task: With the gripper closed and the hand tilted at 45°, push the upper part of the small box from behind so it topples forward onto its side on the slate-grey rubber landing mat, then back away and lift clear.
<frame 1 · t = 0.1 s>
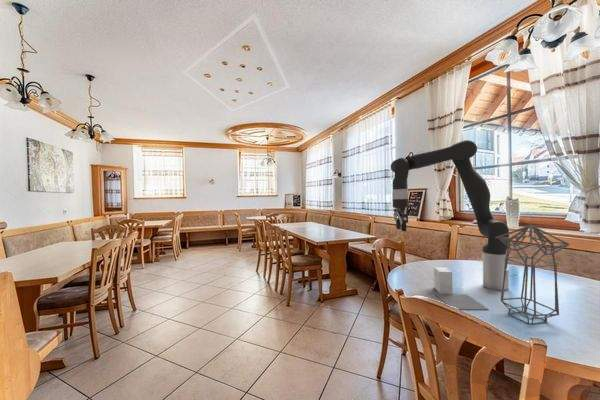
hand: (401, 230, 126), 29 cm above the table, tool pointing down, fingers open, 8 cm apart
small box: (443, 291, 121), on the table
geometric lantern: (530, 319, 92), on the table
landing mat: (459, 301, 108), on the table
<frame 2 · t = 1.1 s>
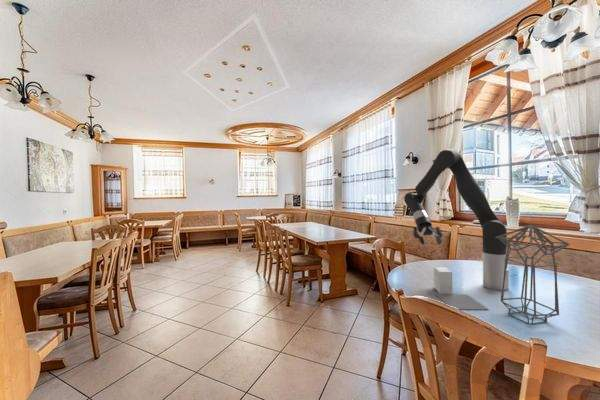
hand: (431, 243, 131), 21 cm above the table, tool tilted 45°, fingers open, 8 cm apart
nothing on the table moved.
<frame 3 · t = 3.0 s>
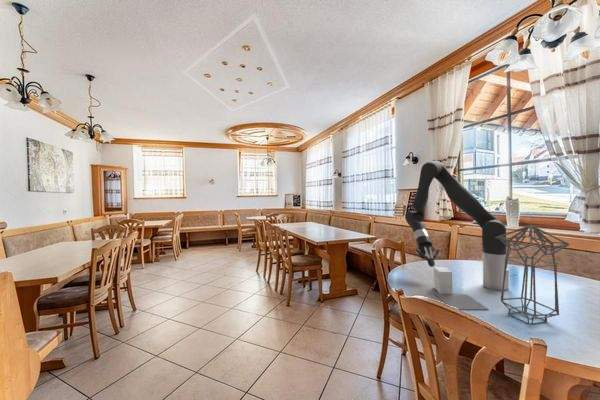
hand: (432, 266, 131), 9 cm above the table, tool tilted 45°, fingers closed
nothing on the table moved.
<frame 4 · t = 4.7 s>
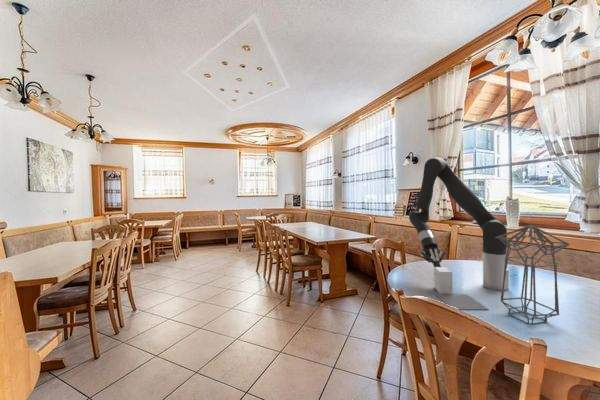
hand: (438, 269, 125), 9 cm above the table, tool tilted 45°, fingers closed
small box: (443, 291, 121), on the table, touching gripper
everything else where it was.
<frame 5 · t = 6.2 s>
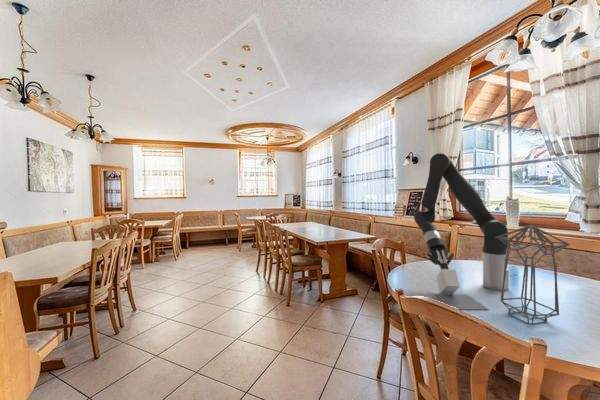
hand: (446, 271, 116), 11 cm above the table, tool tilted 45°, fingers closed
small box: (444, 285, 119), point 3 cm above the table, touching gripper
everything else where it was.
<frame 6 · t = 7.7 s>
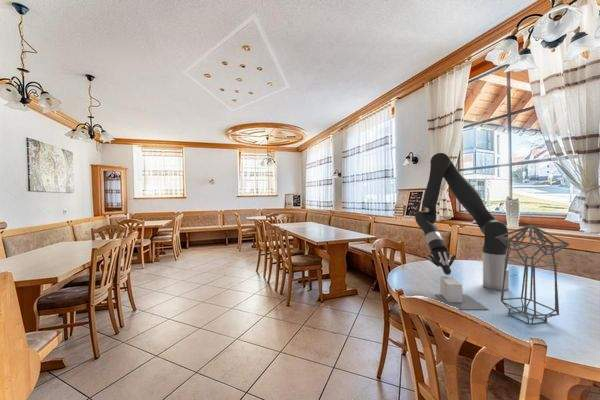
hand: (448, 274, 115), 10 cm above the table, tool tilted 45°, fingers closed
small box: (446, 284, 117), point 4 cm above the table, touching landing mat
everything else where it was.
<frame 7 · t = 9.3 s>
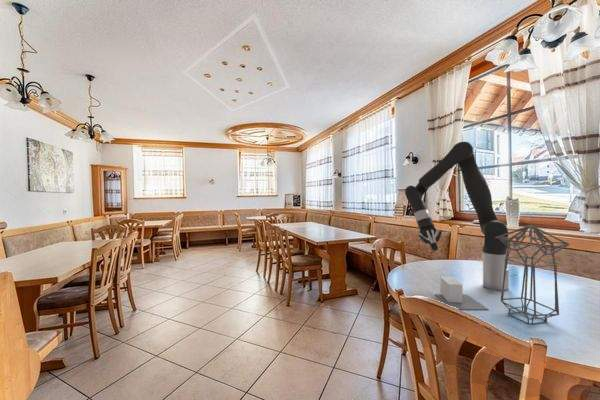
hand: (435, 250, 129), 18 cm above the table, tool tilted 25°, fingers closed
nothing on the table moved.
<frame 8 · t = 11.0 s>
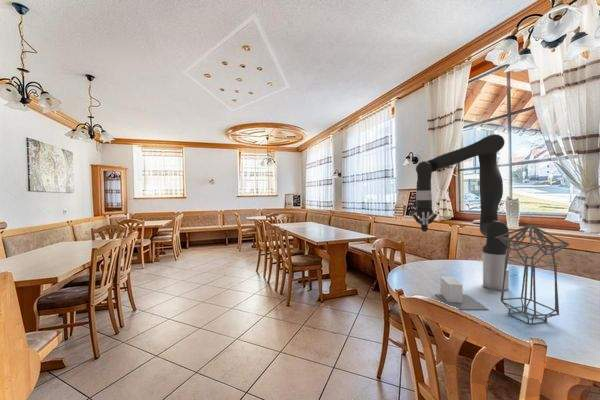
hand: (424, 231, 133), 27 cm above the table, tool pointing down, fingers closed
nothing on the table moved.
at the end: small box tilted 91°; small box inside the target area (2.3 cm from its centre), point 4.5 cm above the table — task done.
